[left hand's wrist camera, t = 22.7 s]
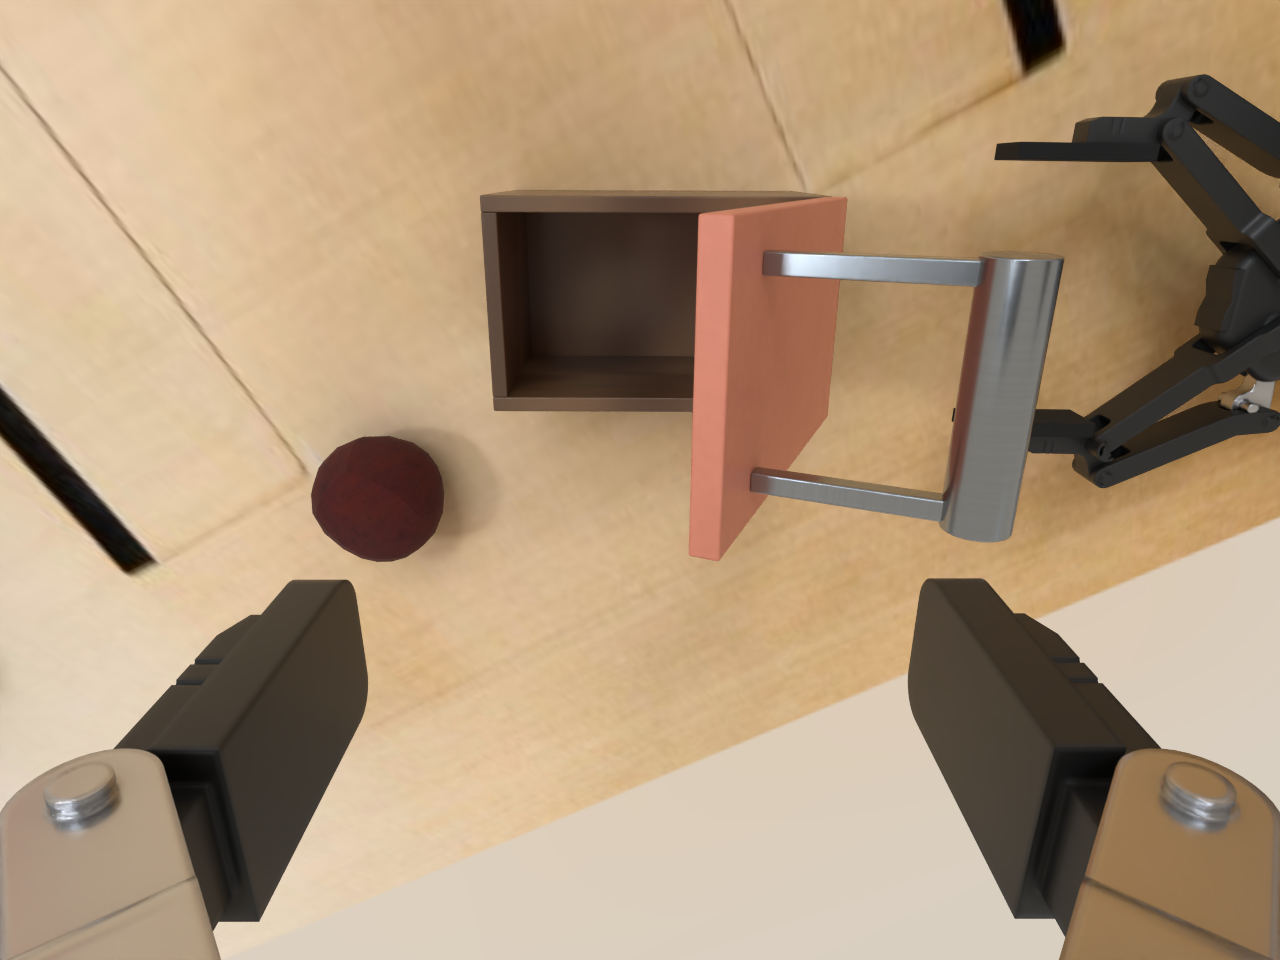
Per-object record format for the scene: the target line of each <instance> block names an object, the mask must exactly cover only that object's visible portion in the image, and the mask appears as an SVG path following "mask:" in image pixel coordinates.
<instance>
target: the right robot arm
mask: <svg viewBox="0 0 1280 960" xmlns="http://www.w3.org/2000/svg"><path fill="white" fill-rule="evenodd" d="M1155 98H1156V103H1155V105H1154V106H1153V108H1152V110H1151V111H1150V112H1149V113H1148V114H1147V115H1146V116H1144V117H1097V118H1088V119H1085V120H1082V121H1080V122H1077V123H1076V124H1075V129H1074V134H1073V139H1072V143H1060V142H1013V143H1000V144H997V147H996V153H995V159H994V160H1023V161H1084V162H1151V163H1152V164H1153V165H1154V166H1155V167H1156V169H1157V170H1158V171H1159V172H1160V173H1161V175H1162V176H1163V177H1164V178H1165V179H1166V180H1167V182H1168V183H1169V184H1170V185H1171V186H1172V188H1173V189H1174V190H1175V191H1176V192H1177V193H1178V195H1179V196H1180V197H1181V198H1182V199H1183V201H1184V202H1185V203H1186V204H1187V205H1188V206H1189V208H1190V209H1191V210H1192V211H1193V212H1194V213H1195V215H1196V216H1197V217H1198V218H1199V219H1200V221H1201V222H1202V223H1203V224H1204V225H1205V226H1206V228H1207V231H1206V234H1207V236H1208V237H1209V238H1210V239H1211V240H1212V242H1213V243H1214V244H1215V245H1216V246H1217V247H1218V249H1219V250H1220V251H1221V252H1222V253H1223V255H1222V256H1221V258H1220V259H1219V260H1218V261H1217V263H1216V265H1210V267H1209V271H1208V275H1207V279H1206V296H1205V298H1204V300H1203V302H1202V304H1201V306H1200V308H1199V310H1198V312H1197V316H1196V320H1195V324H1194V325H1197V326H1199V330H1200V334H1198V335H1197V336H1195V337H1194V338H1192V339H1191V340H1189V341H1188V342H1186V343H1185V344H1183V345H1182V346H1180V347H1179V348H1178V349H1177V350H1176V351H1175V352H1174V357H1173V358H1171V359H1170V360H1168V361H1167V362H1165V363H1164V364H1162V365H1161V366H1160V367H1158V368H1157V369H1155V370H1154V371H1152V372H1151V373H1149V374H1148V375H1146V376H1145V377H1143V378H1142V379H1140V380H1139V381H1137V382H1136V383H1134V384H1133V385H1131V386H1130V387H1129V388H1127V389H1126V390H1124V391H1123V392H1121V393H1120V394H1118V395H1117V396H1115V397H1114V398H1112V399H1111V400H1109V401H1108V402H1106V403H1105V404H1103V405H1102V406H1100V407H1099V408H1098V409H1096V410H1095V411H1093V412H1092V413H1090V414H1089V415H1087V416H1086V417H1082V416H1080V415H1078V414H1077V413H1075V412H1073V411H1071V410H1055V409H1036V410H1035V415H1034V421H1033V426H1032V431H1031V436H1030V442H1029V447H1028V451H1029V452H1031V453H1052V454H1074V456H1075V458H1074V460H1073V462H1072V467H1073V469H1074V470H1075V471H1076V472H1077V473H1079V474H1080V475H1082V476H1083V477H1085V478H1086V479H1087V480H1089V481H1090V482H1092V483H1093V484H1095V485H1096V486H1098V487H1100V488H1107V487H1110V486H1113V485H1115V484H1117V483H1120V482H1122V481H1125V480H1127V479H1130V478H1132V477H1135V476H1137V475H1140V474H1142V473H1145V472H1147V471H1150V470H1152V469H1155V468H1157V467H1159V466H1162V465H1164V464H1167V463H1169V462H1172V461H1174V460H1177V459H1179V458H1182V457H1184V456H1187V455H1189V454H1192V453H1194V452H1196V451H1199V450H1201V449H1204V448H1206V447H1209V446H1211V445H1214V444H1216V443H1219V442H1221V441H1224V440H1226V439H1229V438H1231V437H1234V436H1236V435H1246V434H1257V433H1268V432H1272V431H1274V430H1276V429H1277V428H1278V427H1279V426H1280V413H1279V412H1277V411H1275V410H1272V409H1270V407H1271V402H1272V396H1273V391H1274V386H1275V381H1277V380H1280V219H1278V220H1277V221H1275V220H1274V219H1273V218H1272V217H1270V216H1268V215H1266V214H1264V213H1262V212H1261V211H1260V210H1259V208H1258V207H1257V206H1256V205H1255V203H1254V202H1253V201H1252V200H1251V199H1250V197H1249V196H1248V195H1247V194H1246V192H1245V191H1244V190H1243V189H1242V188H1241V186H1240V185H1239V184H1238V183H1237V181H1236V180H1235V179H1234V178H1233V176H1232V175H1231V174H1230V173H1229V172H1228V170H1227V169H1226V168H1225V167H1224V165H1223V164H1222V163H1221V162H1220V161H1219V159H1218V158H1217V157H1216V156H1215V154H1214V153H1213V152H1212V151H1211V150H1210V148H1209V147H1208V146H1207V145H1206V143H1205V142H1204V141H1203V140H1202V139H1201V137H1200V136H1199V135H1198V134H1197V132H1196V131H1195V130H1194V129H1193V128H1195V129H1196V130H1198V131H1199V132H1201V133H1202V134H1204V135H1205V136H1207V137H1208V138H1210V139H1211V140H1213V141H1215V142H1216V143H1218V144H1219V145H1221V146H1222V147H1224V148H1225V149H1227V150H1228V151H1230V152H1231V153H1233V154H1234V155H1236V156H1238V157H1239V158H1241V159H1242V160H1244V161H1245V162H1247V163H1248V164H1250V165H1251V166H1253V167H1254V168H1256V169H1258V170H1259V171H1261V172H1263V173H1265V174H1267V175H1269V176H1272V177H1275V178H1280V123H1279V122H1278V121H1276V120H1275V119H1273V118H1272V117H1270V116H1269V115H1267V114H1266V113H1264V112H1263V111H1261V110H1260V109H1258V108H1257V107H1255V106H1254V105H1252V104H1251V103H1249V102H1248V101H1246V100H1245V99H1243V98H1242V97H1240V96H1239V95H1237V94H1236V93H1234V92H1233V91H1232V90H1230V89H1229V88H1227V87H1226V86H1224V85H1223V84H1221V83H1220V82H1218V81H1217V80H1215V79H1214V78H1212V77H1211V76H1208V75H1206V74H1204V75H1197V76H1190V77H1185V78H1179V79H1174V80H1168V81H1166V82H1164V83H1162V84H1161V85H1160V86H1159V87H1158V89H1157V92H1156V97H1155ZM1192 127H1193V128H1192ZM1279 187H1280V184H1279ZM1215 352H1217V353H1218V354H1219V355H1214V354H1213V353H1215ZM1238 374H1241V375H1243V376H1245V379H1244V381H1243V383H1242V384H1241V385H1240V386H1239V387H1238V388H1237V389H1234V390H1231V391H1229V392H1222V393H1220V394H1219V395H1218V401H1214V402H1208V403H1204V404H1201V405H1198V406H1195V407H1192V408H1190V409H1187V410H1185V411H1183V412H1180V413H1178V414H1175V415H1173V416H1171V417H1168V418H1166V419H1163V420H1161V421H1159V420H1160V419H1162V418H1163V417H1165V416H1166V415H1168V414H1169V413H1171V412H1172V411H1174V410H1175V409H1177V408H1178V407H1180V406H1181V405H1183V404H1184V403H1186V402H1187V401H1189V400H1190V399H1192V398H1193V397H1195V396H1196V395H1198V394H1199V393H1201V392H1202V391H1204V390H1205V389H1207V388H1208V387H1210V386H1212V385H1214V384H1218V383H1224V382H1227V381H1229V380H1231V379H1232V378H1234V377H1235V376H1237V375H1238ZM955 409H956V408H954V410H953V416H952V422H954V416H955ZM1157 421H1159V422H1157Z"/></svg>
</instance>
